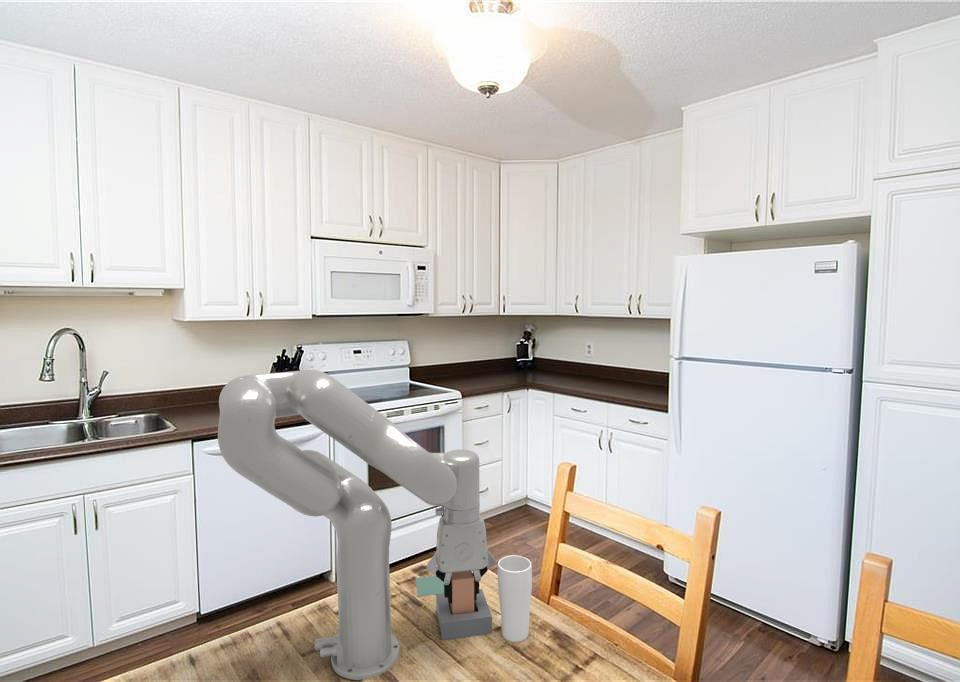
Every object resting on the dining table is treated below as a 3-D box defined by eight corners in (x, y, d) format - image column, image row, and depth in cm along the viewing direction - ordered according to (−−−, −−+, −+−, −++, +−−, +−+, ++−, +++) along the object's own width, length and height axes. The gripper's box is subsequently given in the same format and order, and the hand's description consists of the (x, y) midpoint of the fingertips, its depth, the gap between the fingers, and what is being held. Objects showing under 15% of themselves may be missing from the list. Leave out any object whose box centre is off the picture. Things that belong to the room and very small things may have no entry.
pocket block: (442, 642, 102) (441, 623, 102) (436, 612, 112) (436, 594, 111) (492, 635, 104) (491, 616, 103) (482, 606, 114) (481, 589, 113)
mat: (417, 598, 117) (417, 596, 117) (415, 579, 125) (415, 577, 125) (453, 594, 118) (453, 592, 118) (448, 576, 126) (448, 574, 126)
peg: (452, 627, 105) (452, 580, 104) (449, 615, 109) (449, 569, 108) (474, 625, 106) (474, 577, 105) (470, 612, 110) (470, 566, 109)
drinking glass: (530, 649, 100) (530, 573, 98) (495, 644, 101) (494, 570, 100) (533, 627, 106) (533, 556, 105) (501, 623, 108) (500, 553, 106)
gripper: (420, 523, 100) (422, 614, 102) (505, 516, 104) (505, 604, 105) (417, 508, 108) (419, 593, 109) (497, 501, 111) (497, 584, 112)
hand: (461, 597), depth 107 cm, fingers closed on peg, 4 cm apart
